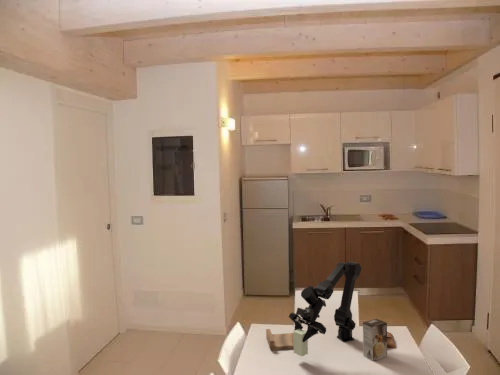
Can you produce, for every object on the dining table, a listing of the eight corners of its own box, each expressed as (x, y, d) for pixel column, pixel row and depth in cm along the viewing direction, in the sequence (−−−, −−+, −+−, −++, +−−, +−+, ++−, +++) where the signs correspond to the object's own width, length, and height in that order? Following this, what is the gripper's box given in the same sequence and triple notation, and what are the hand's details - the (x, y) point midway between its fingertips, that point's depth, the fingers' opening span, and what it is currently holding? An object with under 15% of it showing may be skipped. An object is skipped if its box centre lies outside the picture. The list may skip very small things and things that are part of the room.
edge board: (296, 335, 203) (296, 327, 203) (302, 347, 189) (302, 338, 189) (266, 337, 202) (266, 329, 202) (270, 350, 188) (270, 341, 188)
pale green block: (299, 349, 180) (299, 328, 179) (307, 353, 176) (307, 332, 175) (293, 352, 177) (293, 331, 177) (301, 356, 173) (301, 334, 173)
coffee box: (377, 351, 185) (377, 317, 184) (387, 356, 179) (387, 322, 178) (362, 355, 181) (362, 321, 180) (372, 361, 175) (372, 326, 174)
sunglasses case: (397, 349, 186) (390, 336, 187) (384, 355, 188) (377, 343, 188) (391, 333, 204) (384, 322, 204) (379, 339, 205) (372, 328, 206)
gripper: (290, 295, 185) (274, 325, 178) (321, 305, 171) (305, 338, 164) (302, 307, 190) (286, 336, 184) (333, 318, 176) (317, 350, 170)
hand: (298, 339), depth 175 cm, fingers closed on pale green block, 5 cm apart
